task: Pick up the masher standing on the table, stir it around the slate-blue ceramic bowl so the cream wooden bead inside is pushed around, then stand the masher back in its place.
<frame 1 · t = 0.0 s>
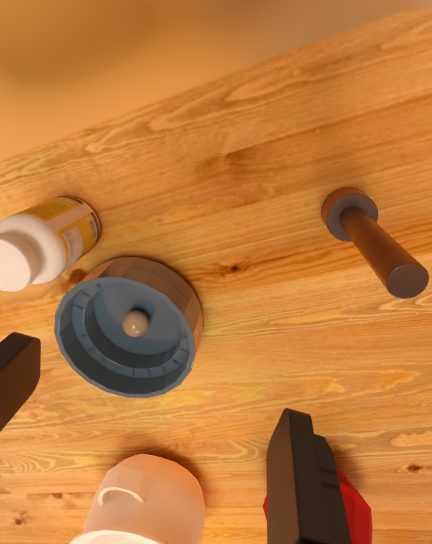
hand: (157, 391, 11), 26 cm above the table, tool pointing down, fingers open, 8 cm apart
pot: (158, 479, 54), on the table
bowl: (141, 313, 41), on the table
pill bottle: (75, 223, 38), on the table
masher: (344, 210, 33), on the table
bead: (135, 323, 39), point 2 cm above the table, touching bowl
bottle: (310, 472, 49), on the table
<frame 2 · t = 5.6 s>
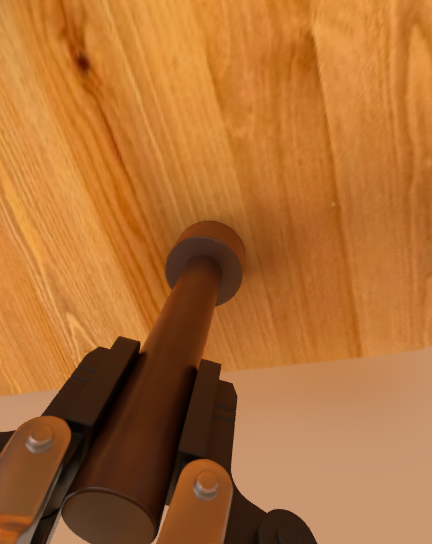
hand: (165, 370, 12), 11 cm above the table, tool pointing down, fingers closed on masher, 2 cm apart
masher: (210, 254, 22), on the table, touching gripper
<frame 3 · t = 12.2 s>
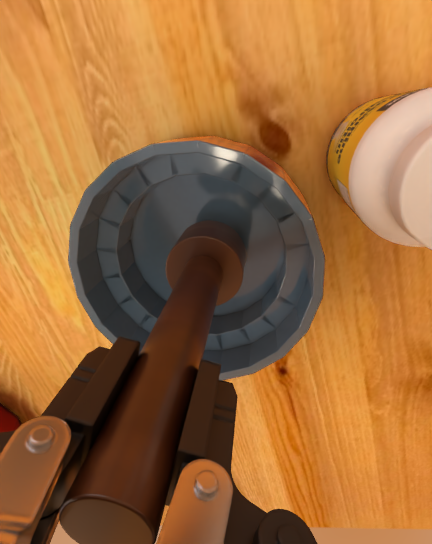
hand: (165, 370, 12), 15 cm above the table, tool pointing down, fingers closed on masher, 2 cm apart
bowl: (207, 245, 26), on the table
pill bottle: (376, 154, 22), on the table
masher: (211, 253, 22), point 4 cm above the table, touching bead, gripper
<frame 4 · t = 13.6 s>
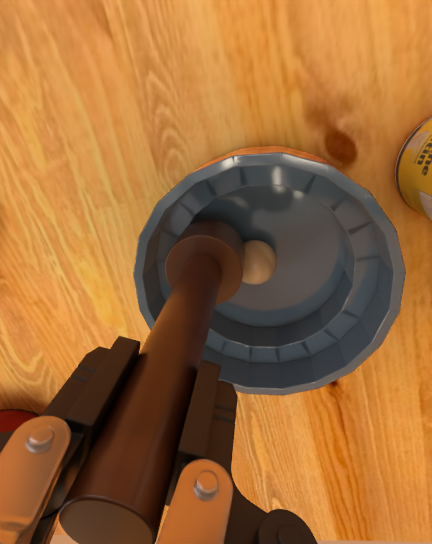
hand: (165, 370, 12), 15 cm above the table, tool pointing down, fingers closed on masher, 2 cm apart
bowl: (263, 255, 25), on the table
masher: (210, 252, 22), point 4 cm above the table, touching bead, gripper
bead: (254, 262, 23), point 2 cm above the table, tilted 38°, touching bowl, masher
bottle: (24, 435, 38), on the table
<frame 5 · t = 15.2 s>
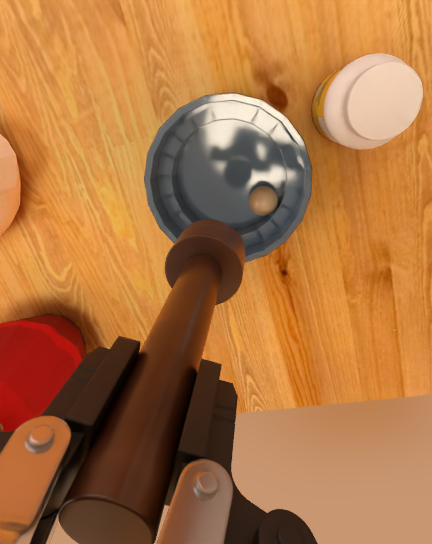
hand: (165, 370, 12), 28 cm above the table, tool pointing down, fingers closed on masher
bowl: (230, 176, 37), on the table
pill bottle: (344, 106, 33), on the table
masher: (210, 252, 22), point 17 cm above the table, touching gripper
bead: (263, 200, 35), point 2 cm above the table, tilted 142°, touching bowl
bottle: (54, 338, 49), on the table
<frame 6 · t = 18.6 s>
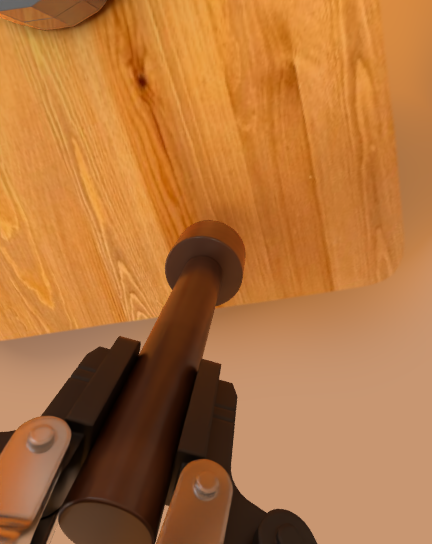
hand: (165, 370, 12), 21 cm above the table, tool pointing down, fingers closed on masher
masher: (210, 253, 22), point 10 cm above the table, touching gripper
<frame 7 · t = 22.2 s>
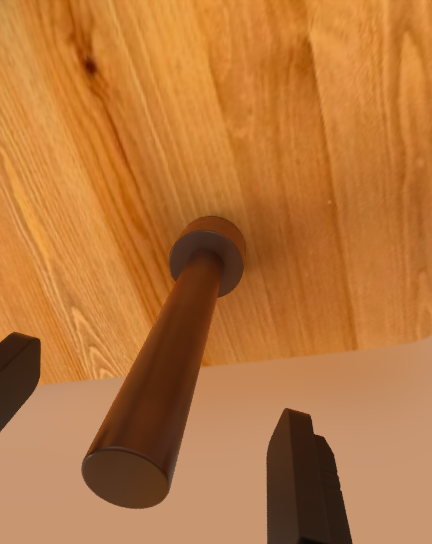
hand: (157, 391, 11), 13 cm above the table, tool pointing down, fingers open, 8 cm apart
masher: (212, 248, 23), on the table
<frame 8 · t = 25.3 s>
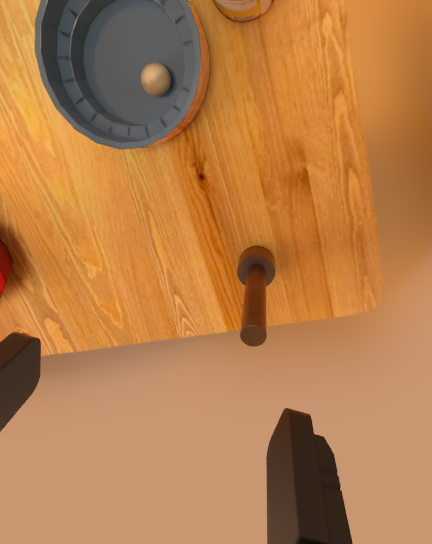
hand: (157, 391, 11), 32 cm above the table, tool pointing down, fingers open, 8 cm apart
bowl: (138, 67, 36), on the table
masher: (256, 262, 43), on the table
bead: (155, 79, 34), point 2 cm above the table, tilted 101°, touching bowl
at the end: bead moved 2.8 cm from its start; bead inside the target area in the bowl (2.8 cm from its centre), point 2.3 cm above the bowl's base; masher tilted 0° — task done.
